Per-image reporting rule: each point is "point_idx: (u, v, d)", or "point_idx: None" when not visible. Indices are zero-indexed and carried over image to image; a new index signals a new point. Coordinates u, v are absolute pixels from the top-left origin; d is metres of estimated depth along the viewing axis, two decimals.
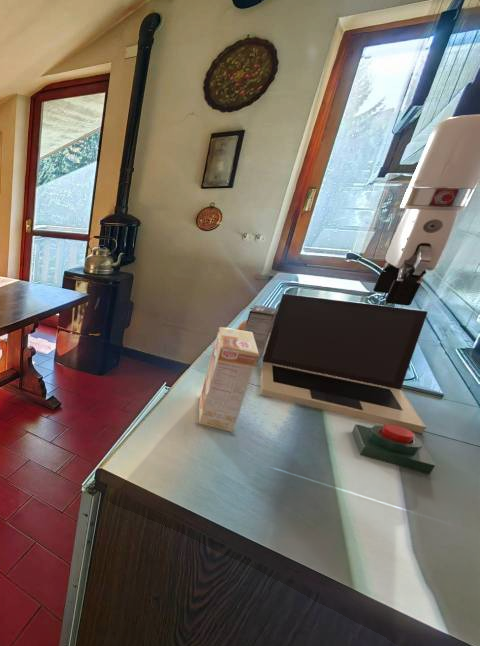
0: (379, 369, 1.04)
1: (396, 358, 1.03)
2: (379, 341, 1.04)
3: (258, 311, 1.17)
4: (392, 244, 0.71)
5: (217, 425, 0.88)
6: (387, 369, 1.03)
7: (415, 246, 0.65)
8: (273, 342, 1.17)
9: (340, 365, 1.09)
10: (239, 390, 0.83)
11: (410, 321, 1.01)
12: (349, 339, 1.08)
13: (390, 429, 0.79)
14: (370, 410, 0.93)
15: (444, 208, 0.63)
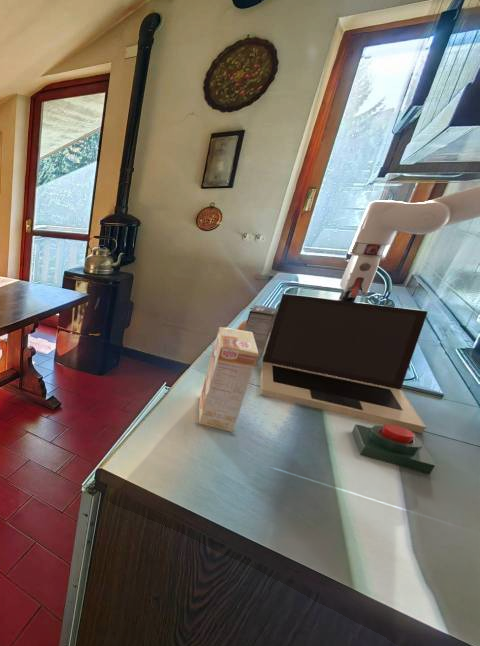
0: (379, 369, 1.04)
1: (396, 358, 1.03)
2: (379, 341, 1.04)
3: (258, 311, 1.17)
4: (343, 275, 1.10)
5: (217, 425, 0.88)
6: (387, 369, 1.03)
7: (355, 279, 1.04)
8: (273, 342, 1.17)
9: (340, 365, 1.09)
10: (239, 390, 0.83)
11: (410, 321, 1.01)
12: (349, 339, 1.08)
13: (390, 429, 0.79)
14: (370, 410, 0.93)
15: (372, 256, 1.02)
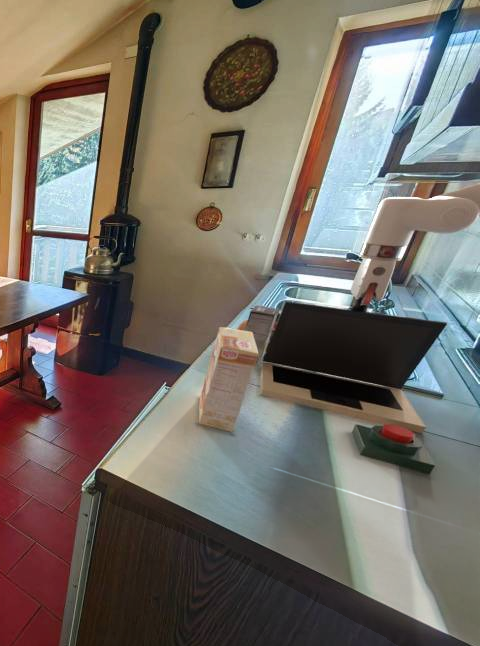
0: (381, 372, 1.02)
1: (401, 364, 0.99)
2: (386, 349, 0.99)
3: (259, 311, 1.17)
4: (354, 280, 1.00)
5: (217, 425, 0.88)
6: (390, 373, 1.01)
7: (367, 284, 0.94)
8: (273, 346, 1.13)
9: (342, 367, 1.07)
10: (239, 390, 0.83)
11: (424, 332, 0.93)
12: (354, 346, 1.02)
13: (390, 429, 0.79)
14: (370, 410, 0.93)
15: (386, 259, 0.91)
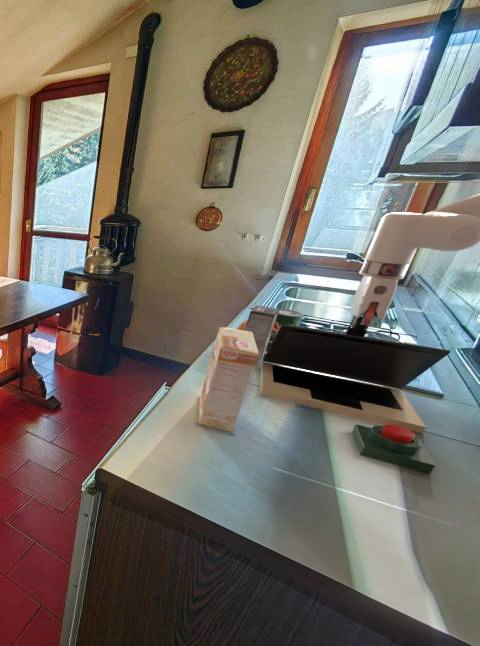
0: (381, 377, 1.01)
1: (401, 374, 0.97)
2: (386, 364, 0.97)
3: (259, 311, 1.17)
4: (354, 298, 0.96)
5: (217, 425, 0.88)
6: (390, 379, 1.00)
7: (368, 303, 0.89)
8: (272, 352, 1.12)
9: (341, 371, 1.06)
10: (239, 390, 0.83)
11: (425, 356, 0.89)
12: (353, 359, 1.00)
13: (390, 429, 0.79)
14: (370, 410, 0.93)
15: (388, 277, 0.87)
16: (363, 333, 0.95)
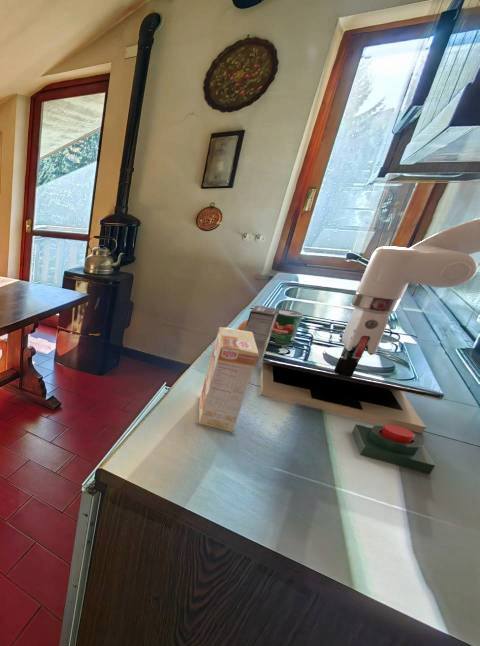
0: None
1: None
2: None
3: (259, 311, 1.17)
4: (346, 330, 0.95)
5: (217, 425, 0.88)
6: None
7: (359, 337, 0.89)
8: None
9: None
10: (239, 390, 0.83)
11: None
12: None
13: (390, 429, 0.79)
14: (370, 410, 0.93)
15: (379, 312, 0.86)
16: (354, 365, 0.94)
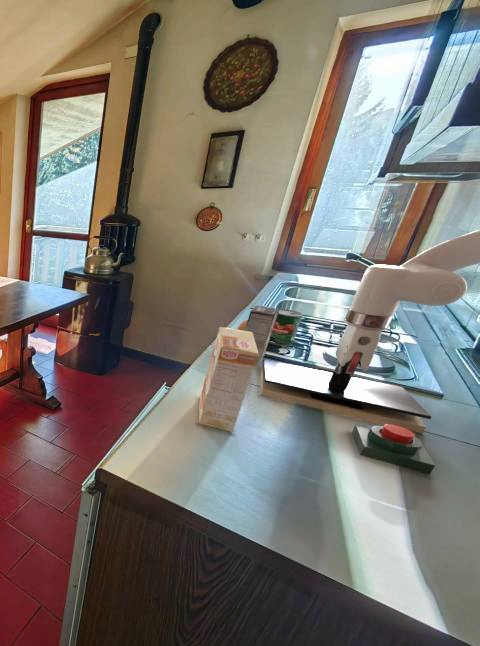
0: None
1: None
2: None
3: (259, 311, 1.17)
4: (339, 345, 0.96)
5: (217, 425, 0.88)
6: None
7: (352, 353, 0.90)
8: None
9: None
10: (239, 390, 0.83)
11: None
12: None
13: (390, 429, 0.79)
14: (370, 410, 0.93)
15: (372, 329, 0.88)
16: (348, 380, 0.96)
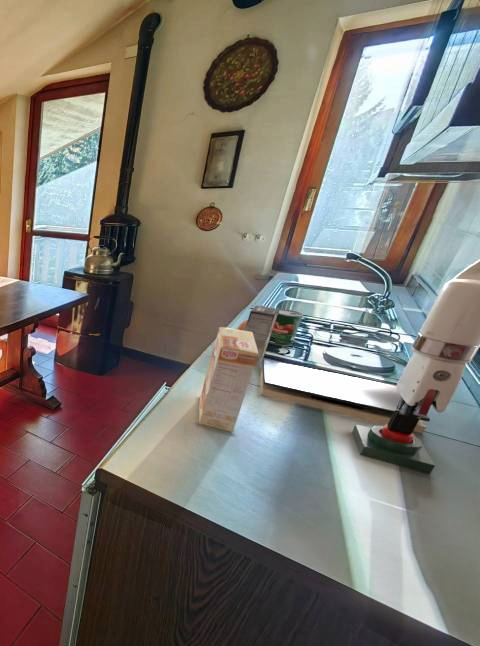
0: None
1: None
2: None
3: (259, 311, 1.17)
4: (403, 378, 0.77)
5: (217, 425, 0.88)
6: None
7: (425, 391, 0.71)
8: None
9: None
10: (239, 390, 0.83)
11: None
12: None
13: None
14: (370, 410, 0.93)
15: (452, 361, 0.69)
16: (415, 422, 0.77)
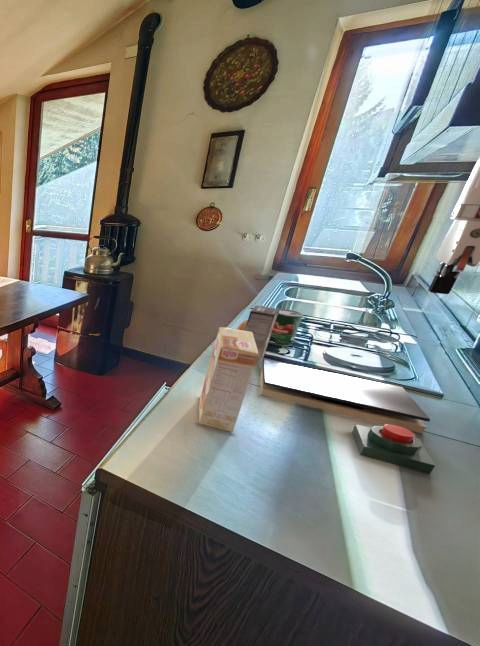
0: None
1: None
2: None
3: (259, 311, 1.17)
4: (442, 246, 0.94)
5: (217, 425, 0.88)
6: None
7: (463, 248, 0.87)
8: None
9: None
10: (239, 390, 0.83)
11: None
12: None
13: (390, 429, 0.79)
14: (370, 410, 0.93)
15: None
16: (452, 281, 0.93)
